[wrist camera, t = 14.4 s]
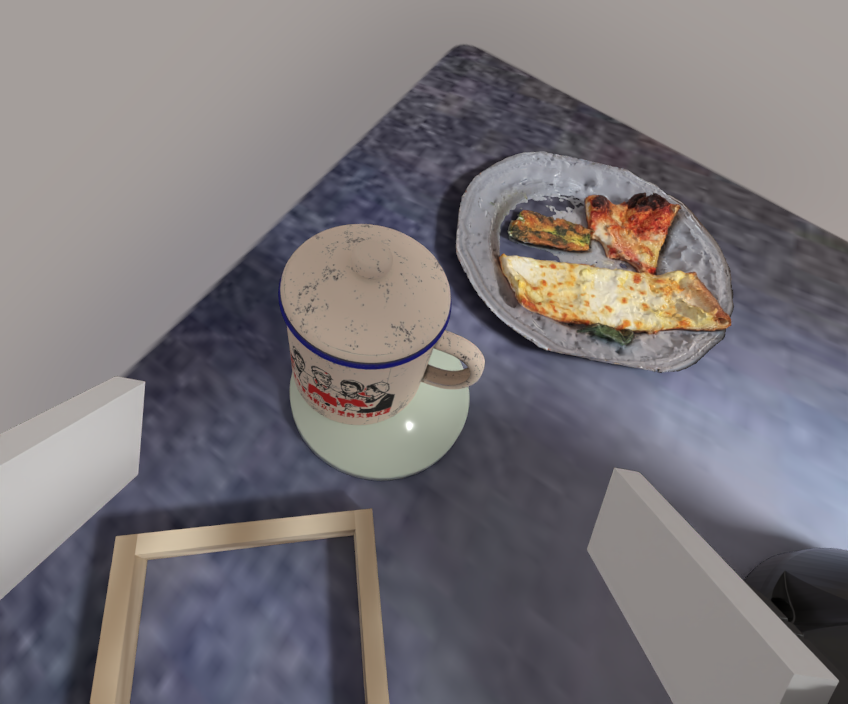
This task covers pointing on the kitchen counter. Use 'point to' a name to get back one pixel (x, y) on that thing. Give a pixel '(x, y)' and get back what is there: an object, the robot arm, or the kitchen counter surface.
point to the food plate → (596, 264)
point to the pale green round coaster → (389, 431)
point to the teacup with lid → (369, 323)
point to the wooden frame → (138, 548)
